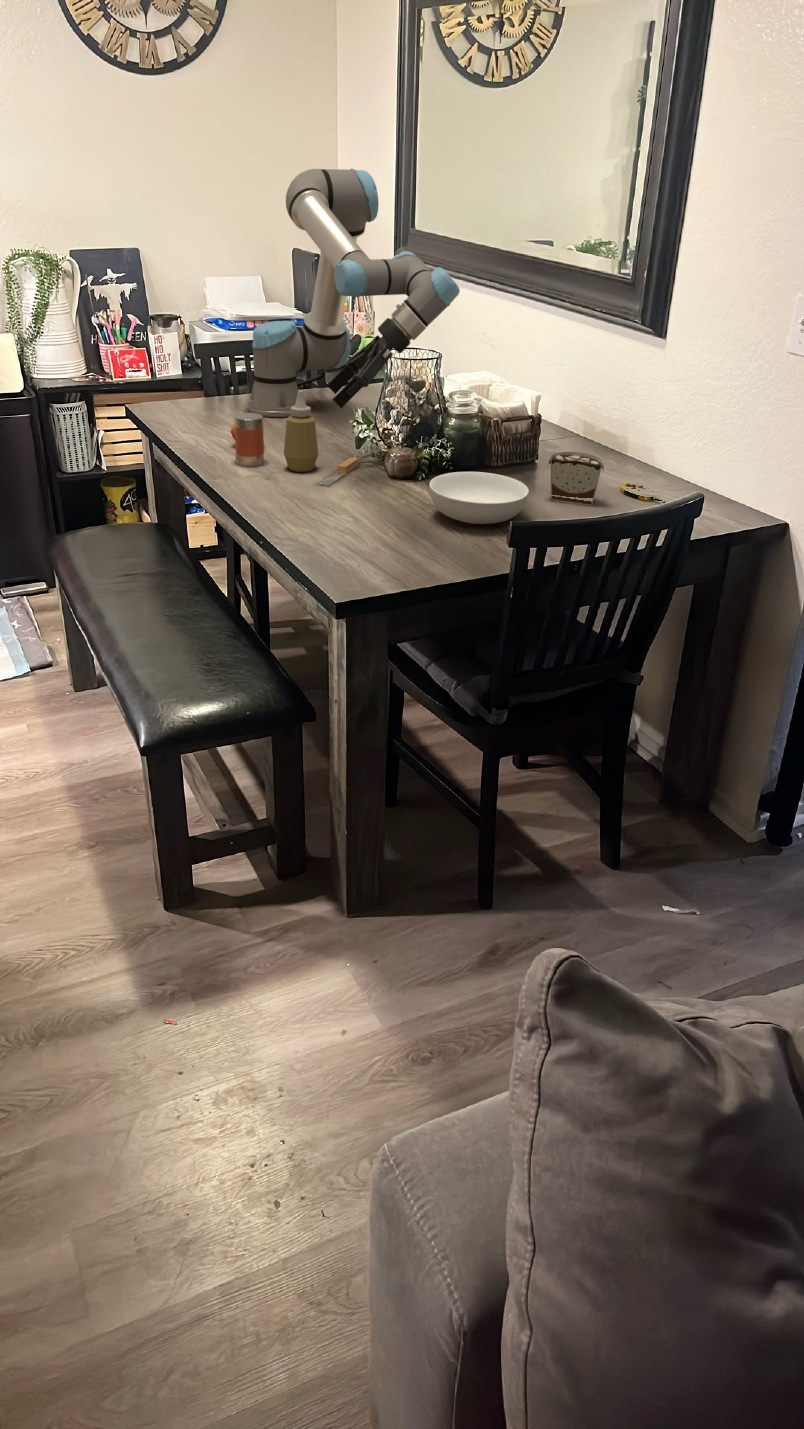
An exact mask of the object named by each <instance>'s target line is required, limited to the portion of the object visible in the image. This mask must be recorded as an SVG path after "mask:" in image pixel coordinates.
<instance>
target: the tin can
mask: <svg viewBox="0 0 804 1429" xmlns="http://www.w3.org/2000/svg"><path fill="white" fill-rule="evenodd" d="M233 417H234V418H233V419H234V423H235V440H234V444H235V445H234V447H235V463H236V465H239V466H241V467H259V466H262V465H264V464H265V441H264V438H265V437H264V434H265V432H264V416H262V415H260V414H257V413H250V412H240V413H236V414H235V415H234V416H233Z"/></svg>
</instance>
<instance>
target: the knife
mask: <svg viewBox="0 0 804 1429" xmlns="http://www.w3.org/2000/svg"><path fill="white" fill-rule="evenodd" d="M359 466H360V458H358V457H353V456H351V457H349V458H348V459H346V460H344V461H342V462H341V463H340V464H338V465H337V471H335V473H333V474H331V475H330V476H328V477H327V478H325V479H323V480H322V481H320V482H319V483H318V485H319V486H326V487H329V486H331V485H333V484H334V483H336V482H337V481H339V480H340V479H342V478H343V477H345V476H346V475H347V474H348V473H349V472H351V471H353V470H354V469H356V468H357V467H359Z"/></svg>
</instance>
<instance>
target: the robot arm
mask: <svg viewBox="0 0 804 1429" xmlns="http://www.w3.org/2000/svg"><path fill="white" fill-rule="evenodd" d="M285 208H286V211H287V214H288V216H289V219H290V220H291V221H292V222H293V224H294V225H295V226H296V227H297V228H298V229H300V230H302V231H305V232H306V233H307V236H309V237H310V239H311V240H312V241H313V243H314V244H315V246H317V248H318V249H319V250H320V253H319V259H318V260H319V261H318V265H317V271H316V272H317V273H316V278H315V284H314V291H313V297H312V303H311V308H310V311H309V312H308V313H306V314H305V316H304V318H303V324H302V326H301V325H300V326H297V325H296V323H295V322H294V321H291V320H274V321H267V322H263V323H261V324H259V325H257V326H256V327H254V329H253V332H252V343H251V347H252V358H253V362H252V363H253V385H252V389H251V392H250V396H249V399H248V402H247V403H248V405H247V411H248V413H257V414H260V415H262V416H263V418H288V417H289V416H291V407H292V406H295V404H296V399H297V394H298V391H300V390H299V386H300V385H303V384H306V383H310V382H312V381H315V380H317V379H320V378H322V377H323V376H324V375H325V374H326V371H331V370H333V369H339V368H342V367H343V366H344V365H345V364H346V365H345V366H344V367H343V368H342V369H341V370H340V371H339V372H338V373H337V374H336V375H335V376H334V377H333V378H332V379H331V380H330V381H329V383H327V387H328V388H329V389H330V391H331V392H333V393H334V397H333V398H332V401H333V402H334V403H335V404H336V405H337V406H338V407H339V408H340V409H342V408H343V407H345V405H347V403H349V402H350V400H351V399H352V398H353V397H354V396H356V394H358V392H360V391H361V389H362V388H367V387H369V385H370V384H371V383H372V381H373V380H374V378H375V377H376V376H377V375H378V373H379V372H380V371H381V370H382V369H383V367H384V366H385V364H386V363H388V362H389V360H390V359H391V358H392V357H393V355H394V354H393V352H392V350H393V349H394V350H395V351H396V353H398V354H401V353H403V352H404V351H405V350H406V349H407V348H408V347H409V346H410V345H411V341H415V340H416V339H417V338H418V337H419V336H420V335H421V334H422V333H423V332H424V331H425V330H426V329H427V328H428V327H429V325H430V324H431V323H433V322H434V321H435V320H436V319H437V318H438V316H440V315H441V314H442V313H443V312H444V311H445V310H446V309H447V308H449V307H450V306H451V304H452V303H453V302H454V300H455V299H456V298H457V297H458V296H459V295H460V292H461V291H460V287H459V285H458V284H457V283H456V282H455V280H454V279H453V278H452V276H451V275H450V274H449V273H448V272H447V270H445V269H444V268H443V267H441V266H438V267H436V268H435V269H434V270H431V269H430V268H429V267H428V266H427V265H426V263H424V261H423V260H422V259H421V258H420V257H419V256H418V255H416V254H415V253H413V252H411V251H408V250H403V251H400V252H398V253H397V254H394V256H393V257H392V258H376V259H374V258H373V259H371V258H369V256H368V255H367V254H366V253H365V251H364V250H363V249H362V247H361V246H360V245H359V244H358V242H357V241H358V238H359V237H361V236H362V235H364V233H365V230H366V226H367V223H371V222H374V221H375V220H376V218H378V217H377V216H378V213H379V194H378V188H377V185H376V182H375V179H374V178H373V176H372V175H371V174H370V173H369V172H368V171H366V170H363V169H362V170H361V169H355V168H350V169H344V168H343V169H342V168H341V169H340V168H339V169H336V168H335V169H332V168H331V169H330V168H326V169H325V168H311V169H306V170H304V171H302V172H300V173H299V174H297V175H296V176H295V177H294V178H293V179H292V181H291V182H290V184H289V186H288V188H287V190H286V195H285ZM396 295H397V296H398V295H405V296H407V298H406V299H404V300H403V302H402V303H401V304H400V303H399V304H396V305H395V307H396V308H395V310H394V311H393V312H392V313H391V318H390V317H387V318H385V320H384V321H383V322H382V323H381V324H380V325H379V326H378V327H377V331H378V332H379V333H380V335H381V337H380V336H379V335H378V334H377V335H375V336H374V338H373V339H372V340H371V341H370V342H368V343H367V344H366V345H365V346H364V347H362V348H361V349H360V350H359V351H357V352H356V353H355V354H354V355H352V356H351V357H350V354H351V349H352V344H351V340H352V337H351V333H350V330H349V328H348V327H347V324H346V322H345V320H344V319H343V316H344V310H345V305H346V301H347V297H353V298H360V297H372V296H375V297H376V296H396ZM323 369H324V374H323V375H320V374H318V375H316V376H313V377H310V378H308V379H304V380H301V381H299V382H297V372H307V371H319V370H323Z"/></svg>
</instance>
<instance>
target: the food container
mask: <svg viewBox="0 0 804 1429" xmlns="http://www.w3.org/2000/svg"><path fill="white" fill-rule="evenodd" d="M547 465H550V501H553V502H560V503H566V504H573V505H581V506H588V507H593V505H594V501H593V502H591V501H584V500H577V499H570V498H562V497H555V496H551V495H558V496H559V495H560V496H566V497H575V498H576V497H578V498H593V499H594V500H595V496H596V492H597V488H598V483H599V480H600V475H601V471H602V473H604V472H605V468H604V467H605V466H604V462H603V459H602V458H601V457H599V456H598V455H595V454H592V453H587V452H581V451H561V452H555V453H553V454H551V455H550V458H549V459H548V463H547Z"/></svg>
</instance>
